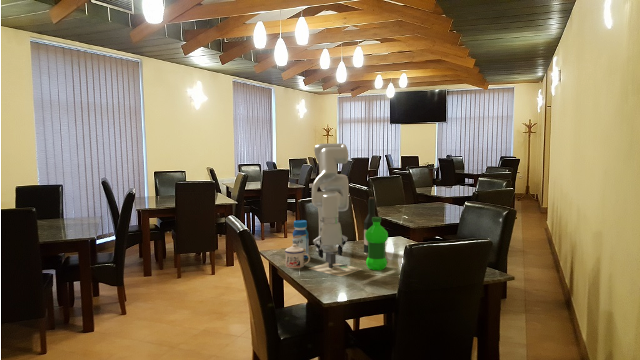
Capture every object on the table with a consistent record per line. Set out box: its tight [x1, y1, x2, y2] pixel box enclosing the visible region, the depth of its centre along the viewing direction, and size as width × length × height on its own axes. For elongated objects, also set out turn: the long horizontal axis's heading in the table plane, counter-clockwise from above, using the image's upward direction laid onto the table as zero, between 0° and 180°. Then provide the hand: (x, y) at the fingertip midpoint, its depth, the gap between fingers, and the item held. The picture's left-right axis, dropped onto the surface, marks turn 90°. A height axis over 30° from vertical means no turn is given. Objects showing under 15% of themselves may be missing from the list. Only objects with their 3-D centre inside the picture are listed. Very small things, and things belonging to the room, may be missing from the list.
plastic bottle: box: [365, 216, 389, 271], centre depth 214 cm, size 10×10×25 cm
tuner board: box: [307, 262, 363, 277], centre depth 214 cm, size 20×16×1 cm
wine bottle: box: [363, 196, 377, 254], centre depth 252 cm, size 8×8×30 cm
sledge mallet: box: [325, 251, 348, 268], centre depth 217 cm, size 10×6×7 cm, turn 112°
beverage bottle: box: [291, 219, 310, 260], centre depth 236 cm, size 8×8×20 cm
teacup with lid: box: [284, 243, 311, 269], centre depth 220 cm, size 12×9×12 cm
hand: (330, 256), depth 217 cm, fingers open, 9 cm apart
